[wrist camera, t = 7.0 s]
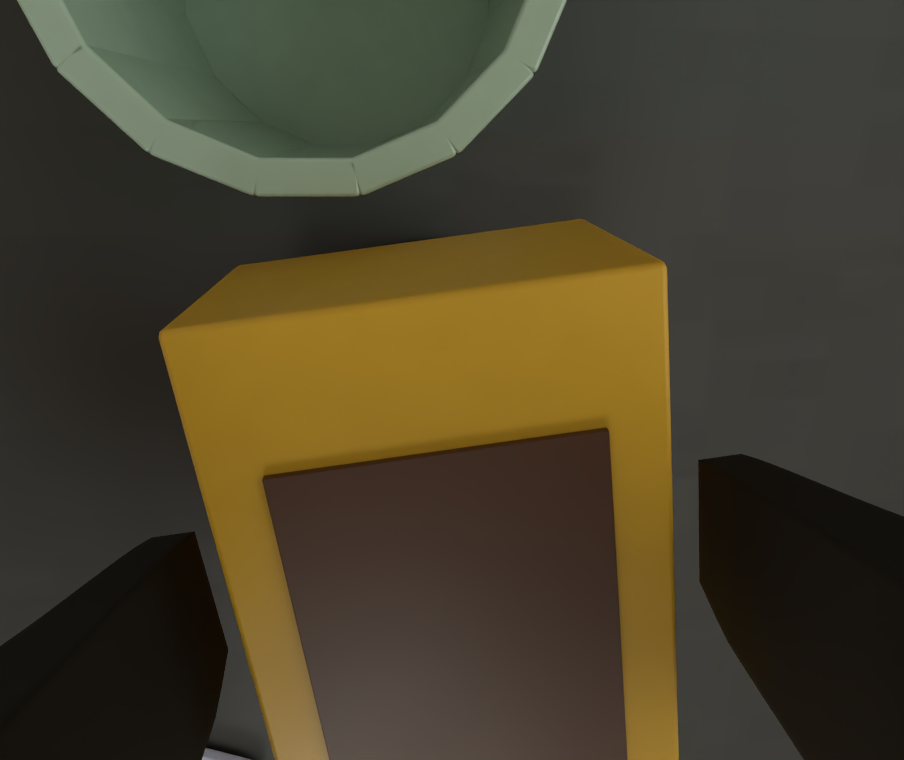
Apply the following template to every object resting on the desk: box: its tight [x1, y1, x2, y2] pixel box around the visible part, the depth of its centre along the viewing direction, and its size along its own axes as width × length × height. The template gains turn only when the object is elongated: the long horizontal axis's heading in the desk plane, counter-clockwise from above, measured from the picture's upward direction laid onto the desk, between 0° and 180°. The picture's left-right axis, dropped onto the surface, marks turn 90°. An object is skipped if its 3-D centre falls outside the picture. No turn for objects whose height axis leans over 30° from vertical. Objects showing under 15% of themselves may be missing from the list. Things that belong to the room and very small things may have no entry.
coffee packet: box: [159, 219, 679, 760], centre depth 10 cm, size 8×5×4 cm, turn 7°
